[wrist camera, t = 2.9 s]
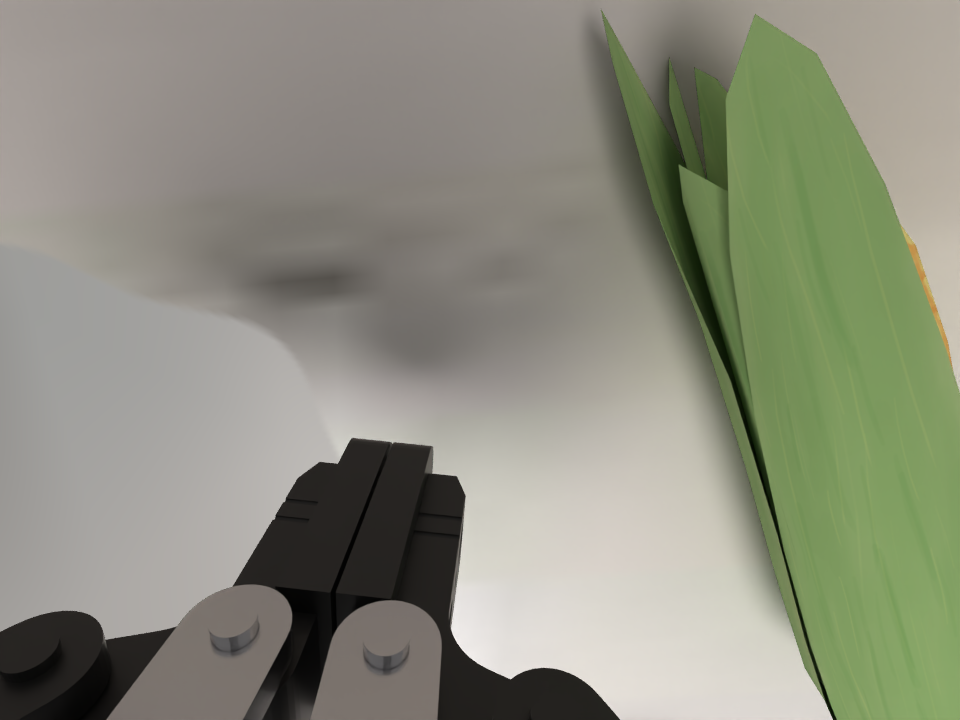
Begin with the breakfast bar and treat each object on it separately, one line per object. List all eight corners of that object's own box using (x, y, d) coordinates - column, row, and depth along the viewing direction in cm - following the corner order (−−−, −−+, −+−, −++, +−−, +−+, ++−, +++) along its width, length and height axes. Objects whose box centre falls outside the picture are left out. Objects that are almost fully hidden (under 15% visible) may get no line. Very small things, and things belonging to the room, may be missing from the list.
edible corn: (841, 820, 15) (1081, 857, 12) (539, 23, 8) (939, -217, 6) (813, 642, 19) (989, 645, 16) (600, 22, 12) (843, -116, 10)
